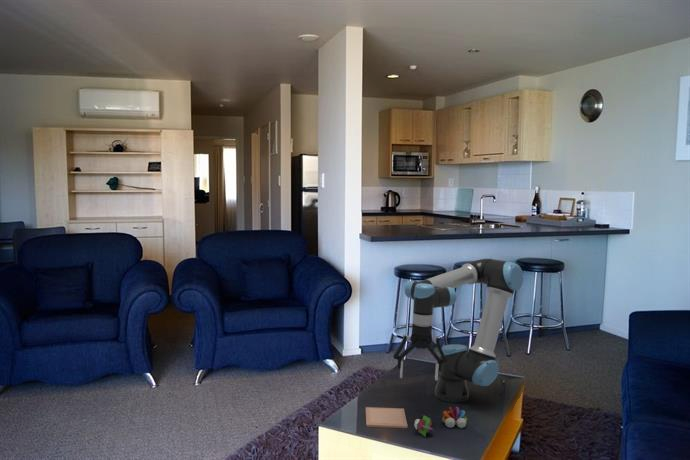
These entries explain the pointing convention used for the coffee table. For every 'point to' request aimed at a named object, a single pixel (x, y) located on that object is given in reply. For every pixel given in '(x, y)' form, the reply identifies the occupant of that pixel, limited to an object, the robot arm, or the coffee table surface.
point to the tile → (385, 417)
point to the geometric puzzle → (423, 425)
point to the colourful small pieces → (454, 418)
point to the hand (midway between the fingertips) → (418, 378)
